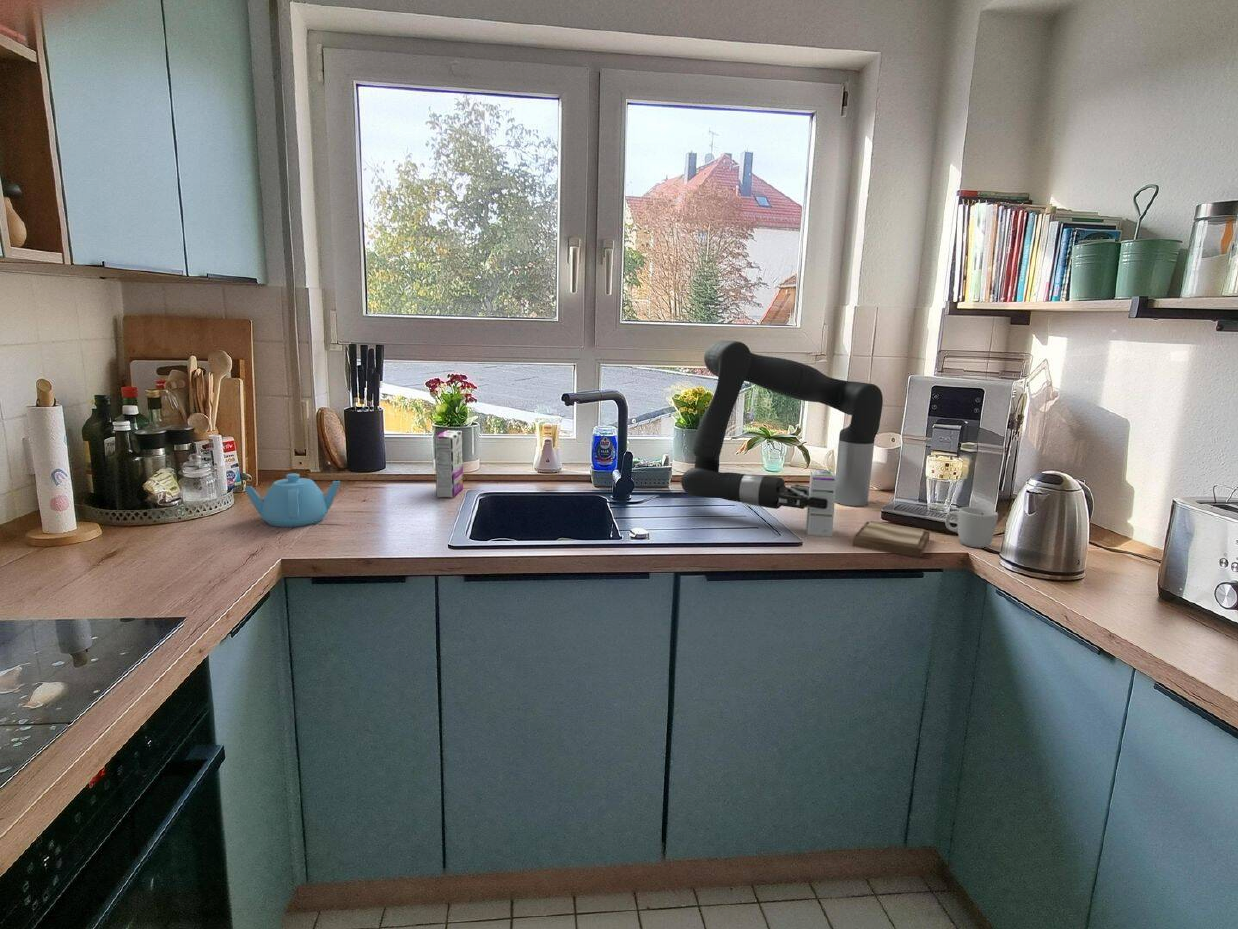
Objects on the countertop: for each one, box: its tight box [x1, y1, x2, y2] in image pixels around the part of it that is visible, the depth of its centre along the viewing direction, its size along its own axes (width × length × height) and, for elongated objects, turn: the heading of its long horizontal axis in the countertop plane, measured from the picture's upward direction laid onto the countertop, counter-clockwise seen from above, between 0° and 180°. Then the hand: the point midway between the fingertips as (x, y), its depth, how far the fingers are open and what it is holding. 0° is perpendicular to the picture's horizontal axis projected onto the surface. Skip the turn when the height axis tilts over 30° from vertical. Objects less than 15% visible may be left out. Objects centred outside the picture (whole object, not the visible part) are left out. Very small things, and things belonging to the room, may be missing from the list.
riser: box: [852, 520, 931, 559], centre depth 160 cm, size 16×14×2 cm
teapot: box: [243, 472, 341, 528], centre depth 161 cm, size 15×15×11 cm
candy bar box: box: [434, 429, 464, 499], centre depth 191 cm, size 11×5×16 cm, turn 179°
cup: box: [944, 506, 999, 549], centre depth 161 cm, size 11×8×8 cm
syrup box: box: [805, 469, 837, 538], centre depth 165 cm, size 6×6×14 cm
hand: (830, 501), depth 164 cm, fingers closed on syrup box, 7 cm apart
